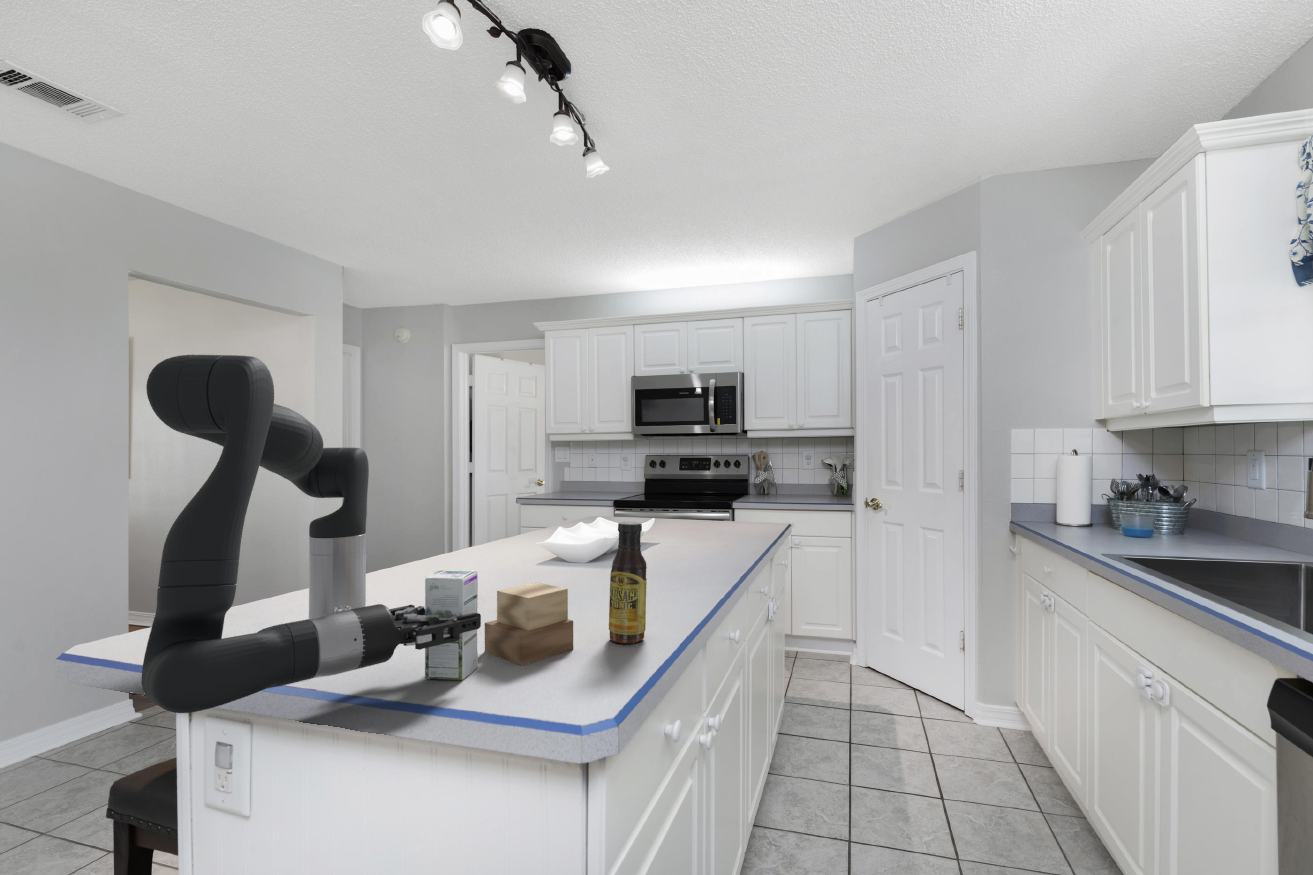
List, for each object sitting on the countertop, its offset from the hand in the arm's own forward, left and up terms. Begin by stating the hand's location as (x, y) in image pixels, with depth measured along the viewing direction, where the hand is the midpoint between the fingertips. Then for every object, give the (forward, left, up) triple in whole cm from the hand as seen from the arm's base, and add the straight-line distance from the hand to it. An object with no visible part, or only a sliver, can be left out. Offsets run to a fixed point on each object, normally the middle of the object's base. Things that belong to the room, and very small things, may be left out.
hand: (463, 614), depth 90 cm
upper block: (0, +12, -3) cm, 13 cm away
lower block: (0, +12, -8) cm, 14 cm away
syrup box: (0, -2, -8) cm, 8 cm away
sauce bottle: (+8, +26, -8) cm, 29 cm away
